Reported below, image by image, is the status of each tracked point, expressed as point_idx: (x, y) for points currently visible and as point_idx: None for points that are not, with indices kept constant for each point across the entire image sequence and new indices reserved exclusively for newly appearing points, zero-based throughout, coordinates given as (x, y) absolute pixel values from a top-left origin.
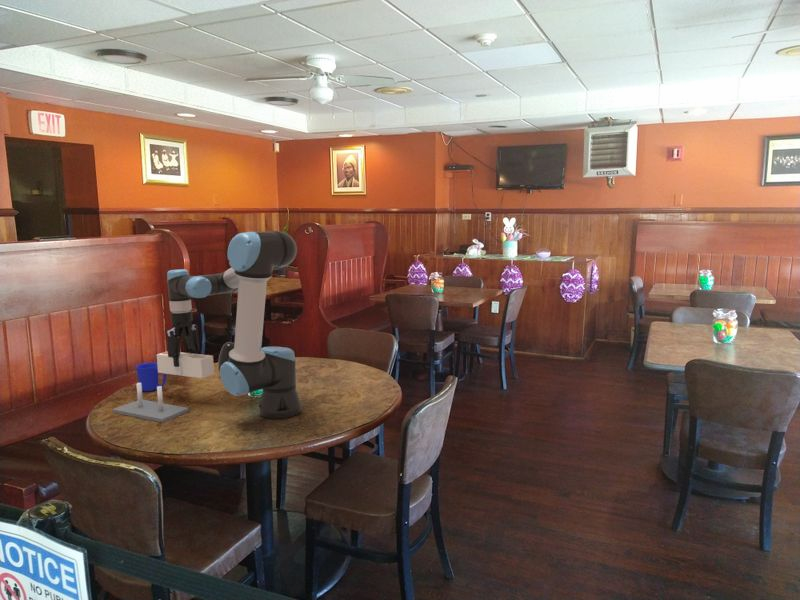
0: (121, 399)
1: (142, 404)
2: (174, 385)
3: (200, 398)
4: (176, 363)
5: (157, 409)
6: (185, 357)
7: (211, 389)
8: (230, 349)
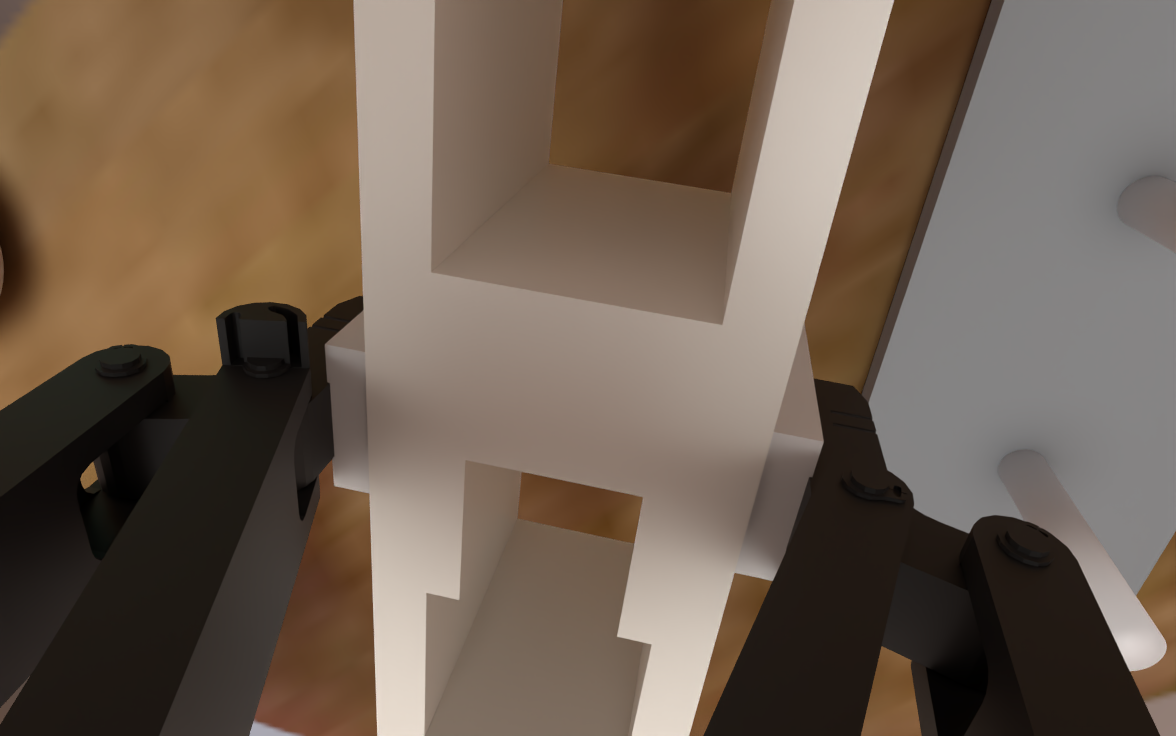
0: None
1: (1033, 463)
2: (360, 541)
3: (570, 100)
4: (869, 428)
5: (1105, 265)
6: (786, 314)
7: (299, 173)
8: None
